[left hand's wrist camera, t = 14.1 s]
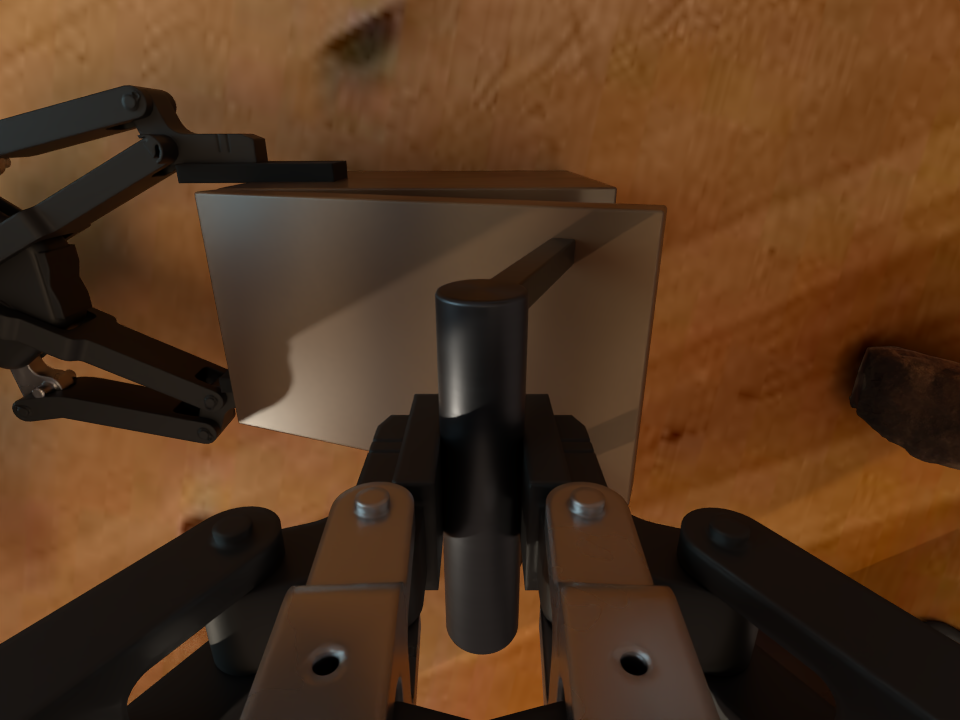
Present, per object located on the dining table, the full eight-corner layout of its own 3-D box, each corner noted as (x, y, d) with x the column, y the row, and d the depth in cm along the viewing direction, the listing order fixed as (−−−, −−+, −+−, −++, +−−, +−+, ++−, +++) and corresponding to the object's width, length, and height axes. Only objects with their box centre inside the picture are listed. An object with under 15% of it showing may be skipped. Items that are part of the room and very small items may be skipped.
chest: (567, 170, 30) (617, 187, 20) (559, 324, 34) (598, 405, 24) (302, 171, 30) (215, 188, 20) (320, 326, 34) (255, 408, 23)
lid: (667, 205, 15) (635, 271, 7) (632, 485, 18) (587, 717, 11) (221, 188, 20) (-58, 218, 13) (260, 410, 23) (58, 534, 16)
